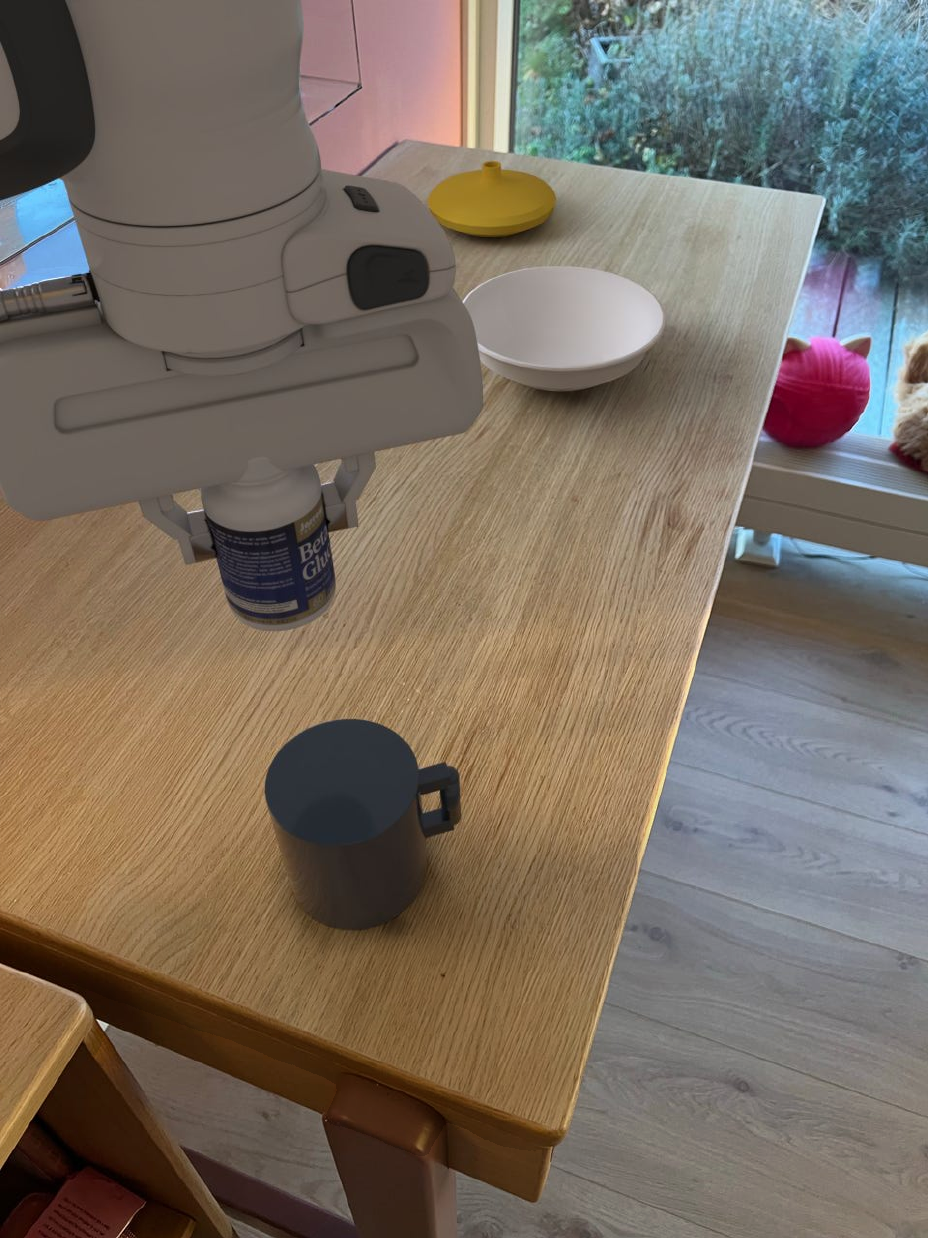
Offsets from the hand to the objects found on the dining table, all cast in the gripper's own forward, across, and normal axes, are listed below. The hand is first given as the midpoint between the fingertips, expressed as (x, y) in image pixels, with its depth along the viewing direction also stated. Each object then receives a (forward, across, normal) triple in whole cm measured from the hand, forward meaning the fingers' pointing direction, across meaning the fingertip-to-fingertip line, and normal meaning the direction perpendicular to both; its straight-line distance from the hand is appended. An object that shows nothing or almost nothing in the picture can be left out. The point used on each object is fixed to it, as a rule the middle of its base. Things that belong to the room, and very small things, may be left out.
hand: (272, 537), depth 47 cm
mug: (+23, +2, -4) cm, 24 cm away
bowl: (+23, +33, +44) cm, 60 cm away
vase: (+23, +38, +79) cm, 91 cm away
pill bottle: (+4, 0, 0) cm, 4 cm away
